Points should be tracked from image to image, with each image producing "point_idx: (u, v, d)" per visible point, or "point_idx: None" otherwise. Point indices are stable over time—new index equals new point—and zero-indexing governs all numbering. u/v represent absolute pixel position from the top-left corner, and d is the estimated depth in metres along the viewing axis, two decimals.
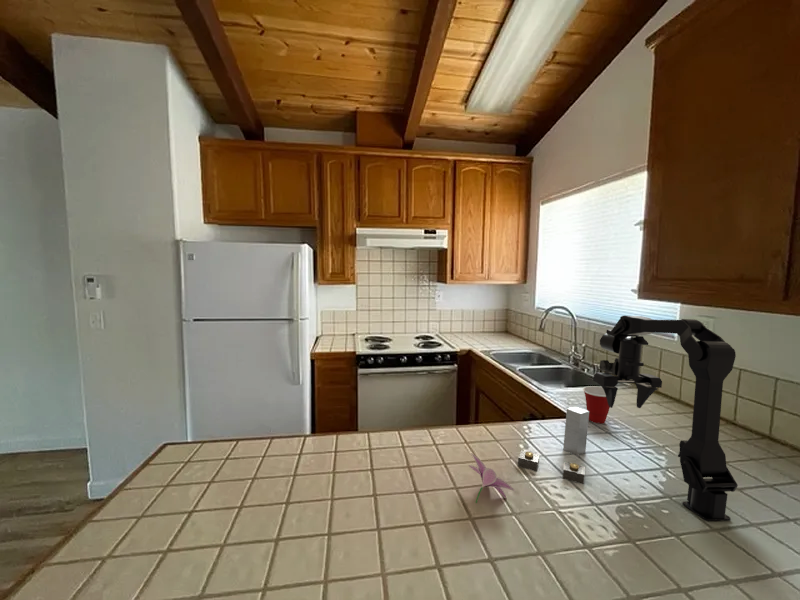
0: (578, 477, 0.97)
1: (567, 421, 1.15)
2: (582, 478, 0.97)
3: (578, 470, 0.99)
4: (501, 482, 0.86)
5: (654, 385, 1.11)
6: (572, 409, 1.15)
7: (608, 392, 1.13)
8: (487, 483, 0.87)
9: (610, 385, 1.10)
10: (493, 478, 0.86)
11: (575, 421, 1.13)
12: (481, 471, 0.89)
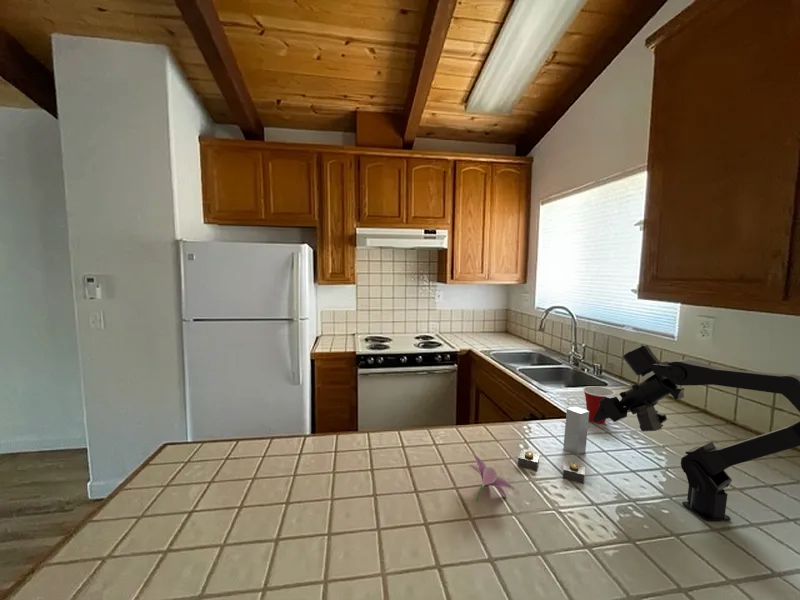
0: (578, 477, 0.97)
1: (567, 421, 1.15)
2: (582, 478, 0.97)
3: (578, 470, 0.99)
4: (501, 481, 0.86)
5: None
6: (572, 409, 1.15)
7: None
8: (487, 482, 0.88)
9: None
10: (493, 477, 0.87)
11: (574, 421, 1.13)
12: (481, 471, 0.90)
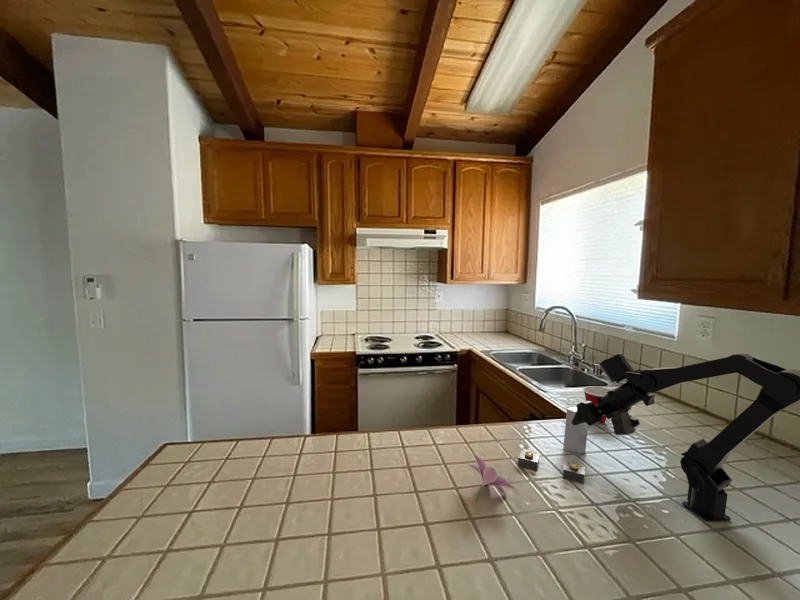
0: (578, 477, 0.97)
1: (567, 421, 1.15)
2: (582, 478, 0.97)
3: (578, 470, 0.99)
4: (501, 480, 0.87)
5: None
6: (572, 409, 1.15)
7: None
8: (487, 482, 0.88)
9: None
10: (493, 477, 0.87)
11: None
12: (481, 470, 0.90)
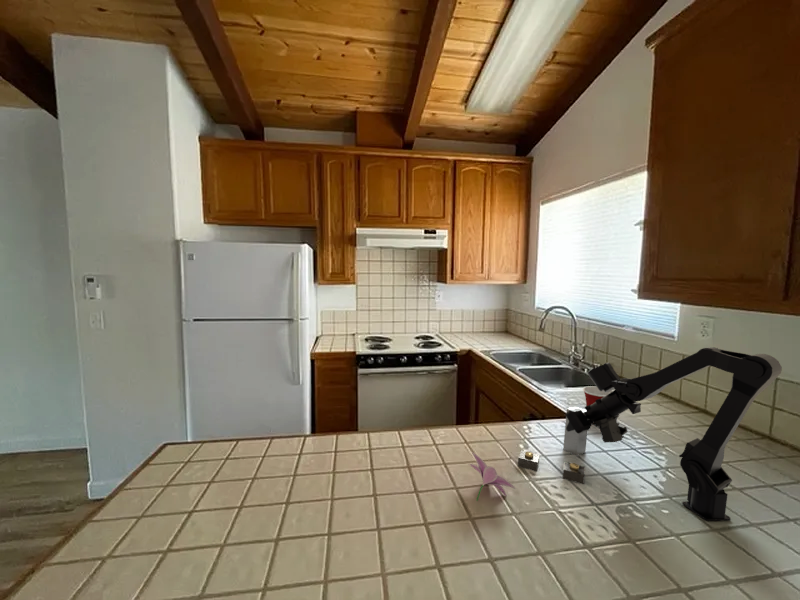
0: (578, 477, 0.97)
1: (567, 421, 1.15)
2: (582, 478, 0.97)
3: (578, 470, 0.99)
4: (501, 480, 0.87)
5: None
6: (572, 409, 1.15)
7: None
8: (488, 481, 0.88)
9: None
10: (493, 476, 0.87)
11: None
12: (481, 470, 0.90)
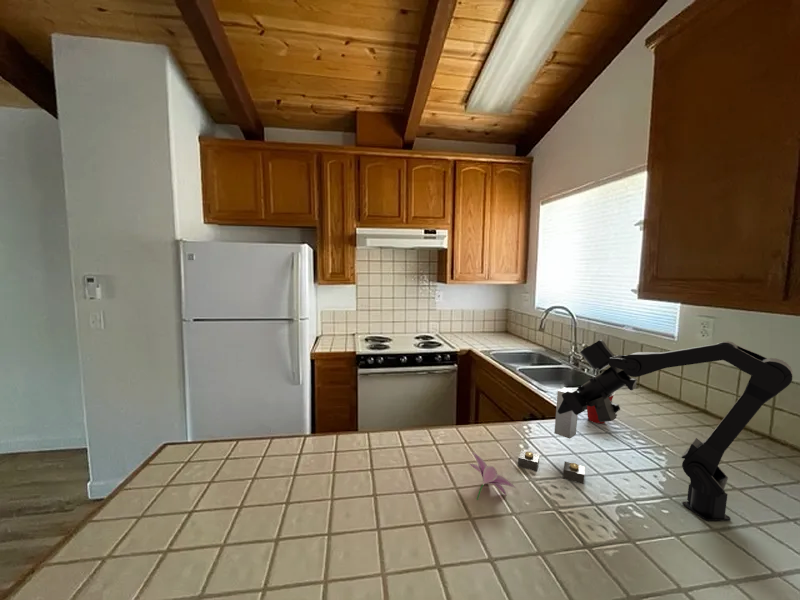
0: (578, 477, 0.97)
1: (558, 403, 1.10)
2: (582, 478, 0.97)
3: (578, 470, 0.99)
4: (501, 479, 0.87)
5: None
6: (563, 390, 1.10)
7: None
8: (488, 480, 0.88)
9: None
10: (493, 476, 0.87)
11: None
12: (481, 469, 0.90)
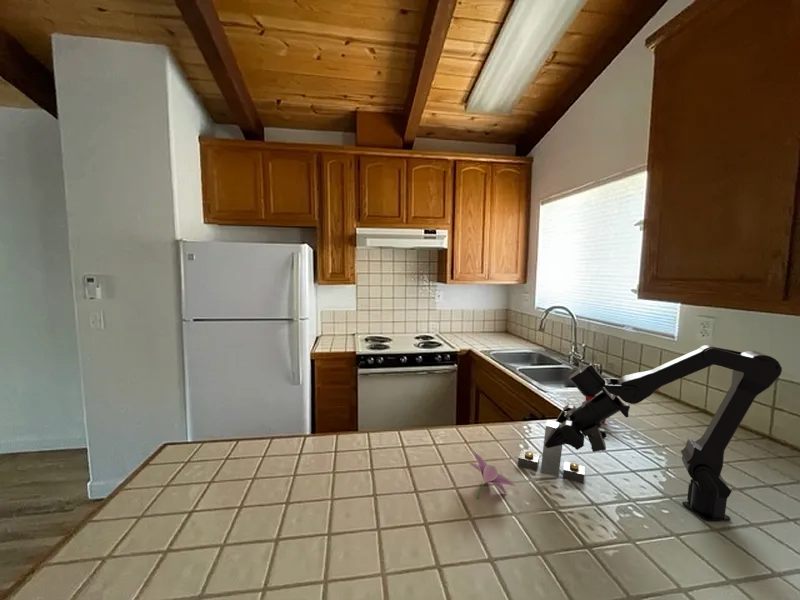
0: (578, 477, 0.97)
1: (546, 439, 1.01)
2: (582, 478, 0.97)
3: (578, 470, 0.99)
4: (502, 478, 0.88)
5: (562, 424, 0.95)
6: (551, 425, 1.01)
7: None
8: (488, 479, 0.89)
9: (564, 408, 1.07)
10: (494, 475, 0.88)
11: None
12: (481, 468, 0.91)
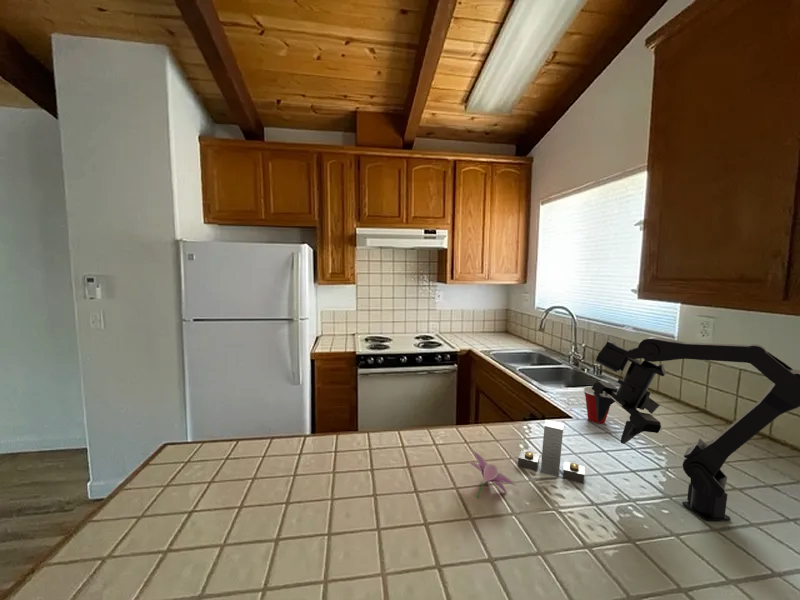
0: (578, 477, 0.97)
1: (545, 439, 1.01)
2: (582, 478, 0.97)
3: (578, 470, 0.99)
4: (502, 477, 0.88)
5: (631, 420, 0.92)
6: (549, 425, 1.01)
7: None
8: (488, 479, 0.89)
9: (594, 389, 1.06)
10: (494, 474, 0.88)
11: (555, 439, 1.00)
12: (481, 467, 0.91)
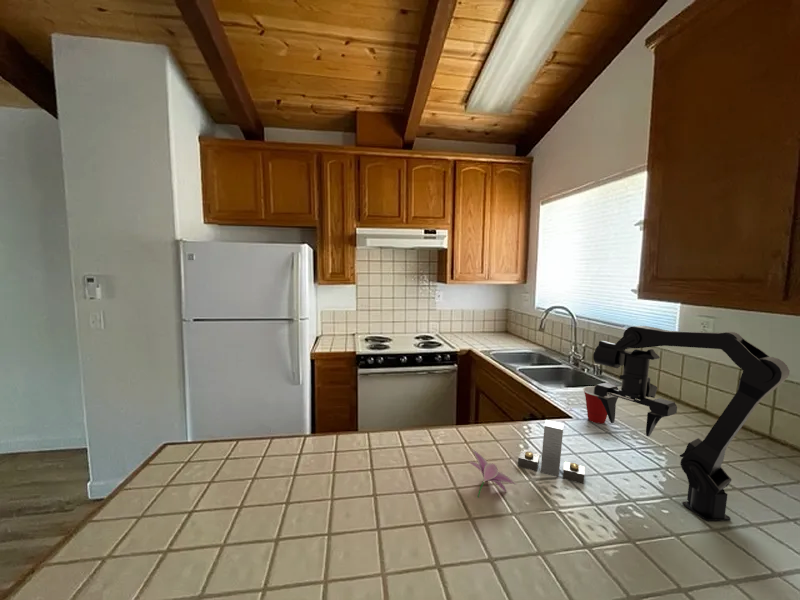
0: (578, 477, 0.97)
1: (545, 439, 1.01)
2: (582, 478, 0.97)
3: (578, 470, 0.99)
4: (502, 476, 0.88)
5: (653, 410, 0.94)
6: (549, 425, 1.01)
7: None
8: (488, 478, 0.89)
9: (598, 394, 1.05)
10: (494, 473, 0.89)
11: (555, 439, 1.00)
12: (482, 467, 0.91)
